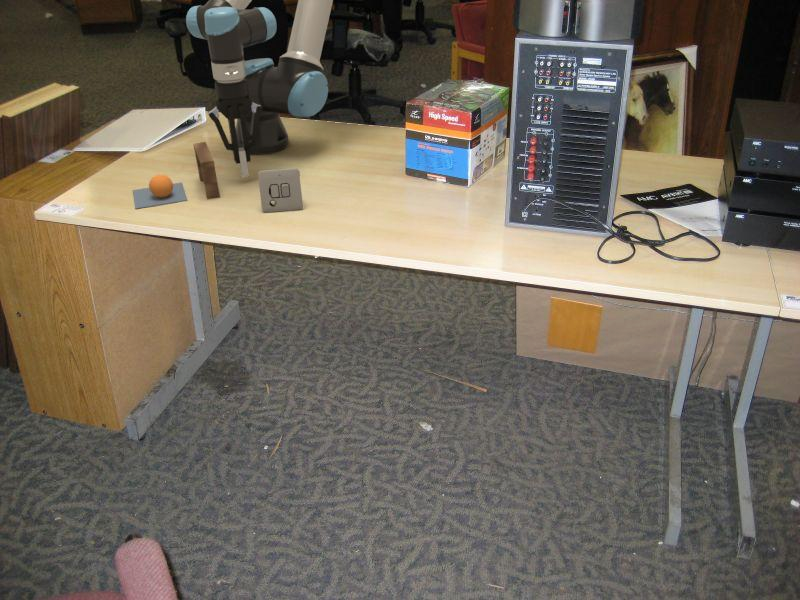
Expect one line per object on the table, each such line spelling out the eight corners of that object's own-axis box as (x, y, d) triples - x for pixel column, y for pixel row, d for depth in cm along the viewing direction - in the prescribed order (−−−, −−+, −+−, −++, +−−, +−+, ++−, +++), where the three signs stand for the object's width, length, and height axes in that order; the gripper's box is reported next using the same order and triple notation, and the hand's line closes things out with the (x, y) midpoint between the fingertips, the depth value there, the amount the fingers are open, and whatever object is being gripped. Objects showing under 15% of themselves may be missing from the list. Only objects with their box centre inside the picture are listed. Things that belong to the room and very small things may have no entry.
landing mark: (182, 183, 187) (182, 182, 187) (187, 200, 177) (187, 199, 177) (132, 190, 184) (132, 190, 184) (135, 209, 174) (135, 208, 174)
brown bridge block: (211, 176, 190) (205, 141, 185) (220, 197, 178) (213, 160, 174) (199, 178, 189) (193, 143, 185) (207, 199, 178) (200, 162, 173)
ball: (164, 167, 179) (143, 176, 178) (168, 176, 175) (146, 185, 174) (174, 186, 183) (153, 195, 182) (178, 195, 179) (157, 205, 178)
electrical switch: (262, 213, 170) (256, 173, 166) (263, 206, 174) (258, 167, 170) (303, 210, 171) (299, 171, 167) (303, 203, 175) (299, 164, 171)
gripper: (204, 86, 168) (220, 184, 181) (261, 79, 172) (273, 175, 184) (200, 78, 174) (216, 173, 187) (255, 71, 178) (267, 165, 190)
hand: (244, 174), depth 185 cm, fingers closed
